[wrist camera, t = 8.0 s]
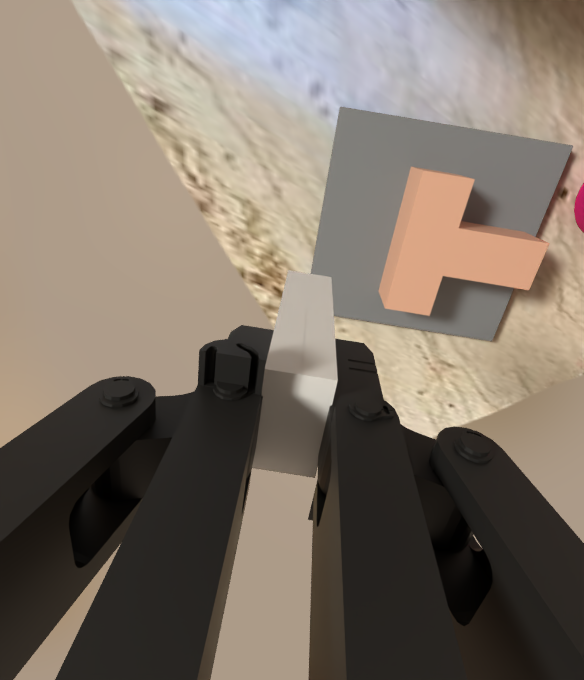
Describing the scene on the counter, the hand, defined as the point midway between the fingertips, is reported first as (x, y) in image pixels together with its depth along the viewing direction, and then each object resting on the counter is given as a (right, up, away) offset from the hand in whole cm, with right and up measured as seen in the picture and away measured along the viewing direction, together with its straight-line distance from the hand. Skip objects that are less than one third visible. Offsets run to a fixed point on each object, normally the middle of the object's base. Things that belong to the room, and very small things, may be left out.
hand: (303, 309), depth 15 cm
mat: (+10, +8, +19) cm, 23 cm away
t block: (+13, +7, +18) cm, 23 cm away
